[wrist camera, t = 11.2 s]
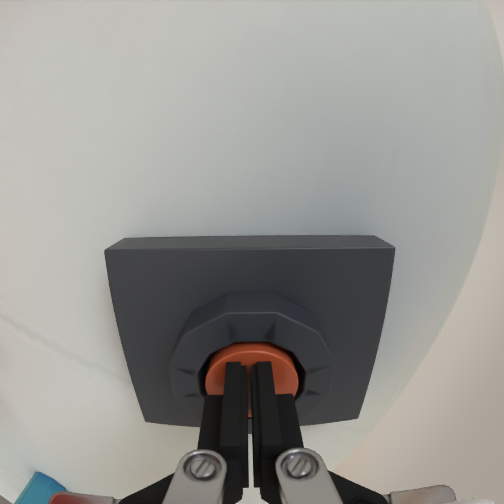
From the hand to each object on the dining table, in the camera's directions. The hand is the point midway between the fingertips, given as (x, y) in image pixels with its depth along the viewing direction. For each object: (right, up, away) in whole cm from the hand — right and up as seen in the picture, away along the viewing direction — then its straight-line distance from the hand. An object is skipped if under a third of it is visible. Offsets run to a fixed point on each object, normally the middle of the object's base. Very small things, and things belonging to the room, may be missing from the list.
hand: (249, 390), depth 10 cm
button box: (0, +1, +4) cm, 4 cm away
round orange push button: (0, +1, +2) cm, 2 cm away
